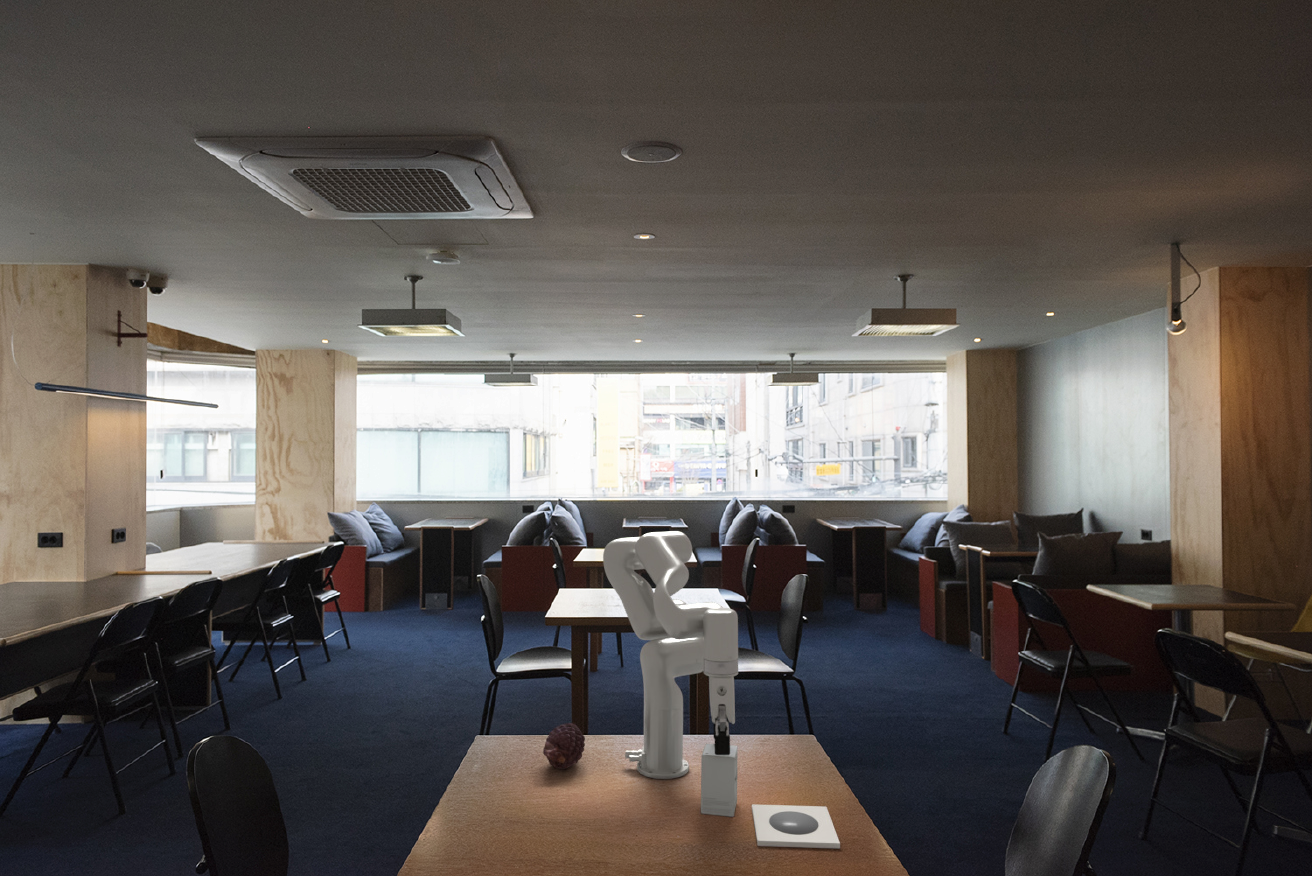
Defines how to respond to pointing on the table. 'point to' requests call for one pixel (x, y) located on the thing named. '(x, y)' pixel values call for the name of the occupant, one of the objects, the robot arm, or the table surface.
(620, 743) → the table surface
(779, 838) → the mat
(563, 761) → the pine cone
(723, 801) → the supplement box
